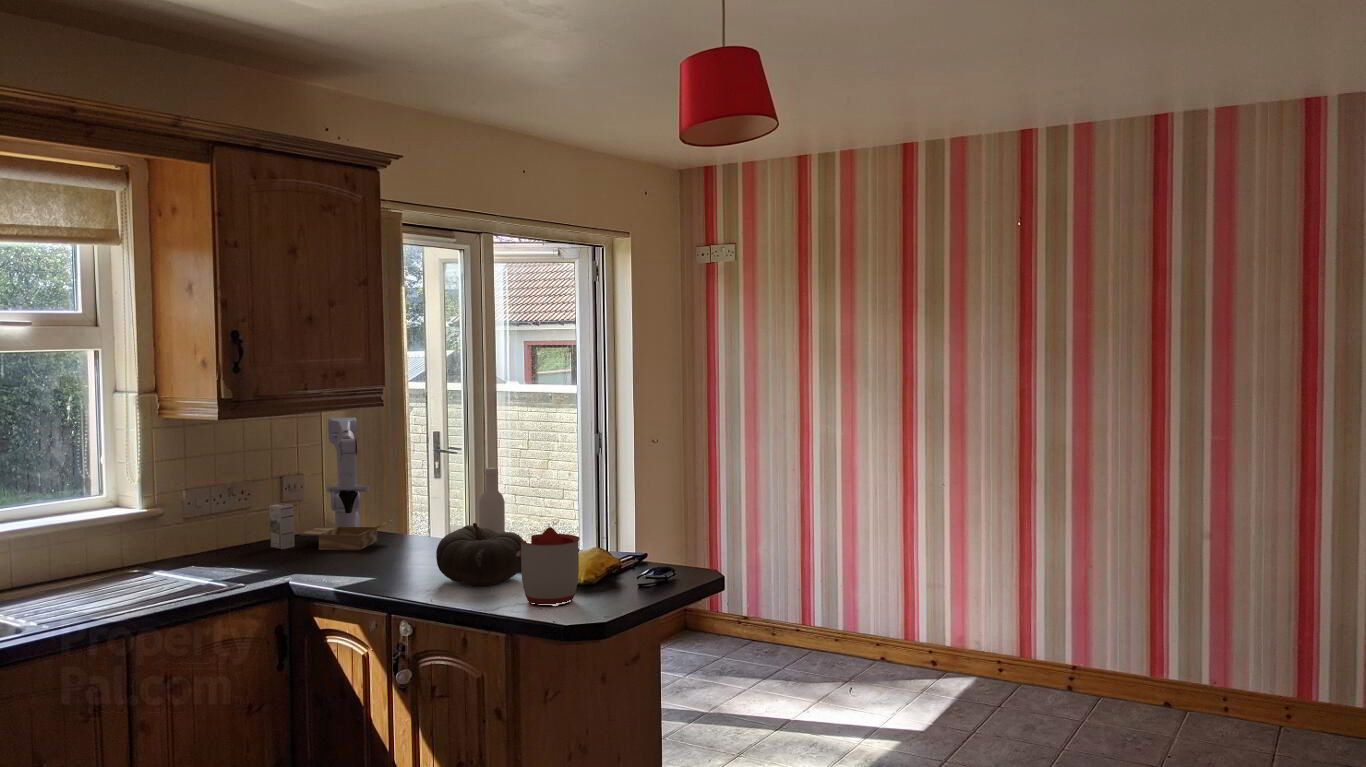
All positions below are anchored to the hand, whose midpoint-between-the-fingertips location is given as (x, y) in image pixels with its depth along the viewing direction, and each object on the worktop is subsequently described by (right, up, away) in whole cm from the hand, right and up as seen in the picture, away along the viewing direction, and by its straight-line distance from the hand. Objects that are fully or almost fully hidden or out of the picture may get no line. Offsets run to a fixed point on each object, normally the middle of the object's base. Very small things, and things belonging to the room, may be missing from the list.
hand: (348, 512), depth 358 cm
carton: (-2, -11, -4) cm, 11 cm away
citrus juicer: (+79, -13, -83) cm, 116 cm away
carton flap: (+11, -4, -5) cm, 13 cm away
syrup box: (-20, -11, -7) cm, 24 cm away
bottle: (+56, -12, -35) cm, 67 cm away
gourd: (+57, -13, -57) cm, 82 cm away
